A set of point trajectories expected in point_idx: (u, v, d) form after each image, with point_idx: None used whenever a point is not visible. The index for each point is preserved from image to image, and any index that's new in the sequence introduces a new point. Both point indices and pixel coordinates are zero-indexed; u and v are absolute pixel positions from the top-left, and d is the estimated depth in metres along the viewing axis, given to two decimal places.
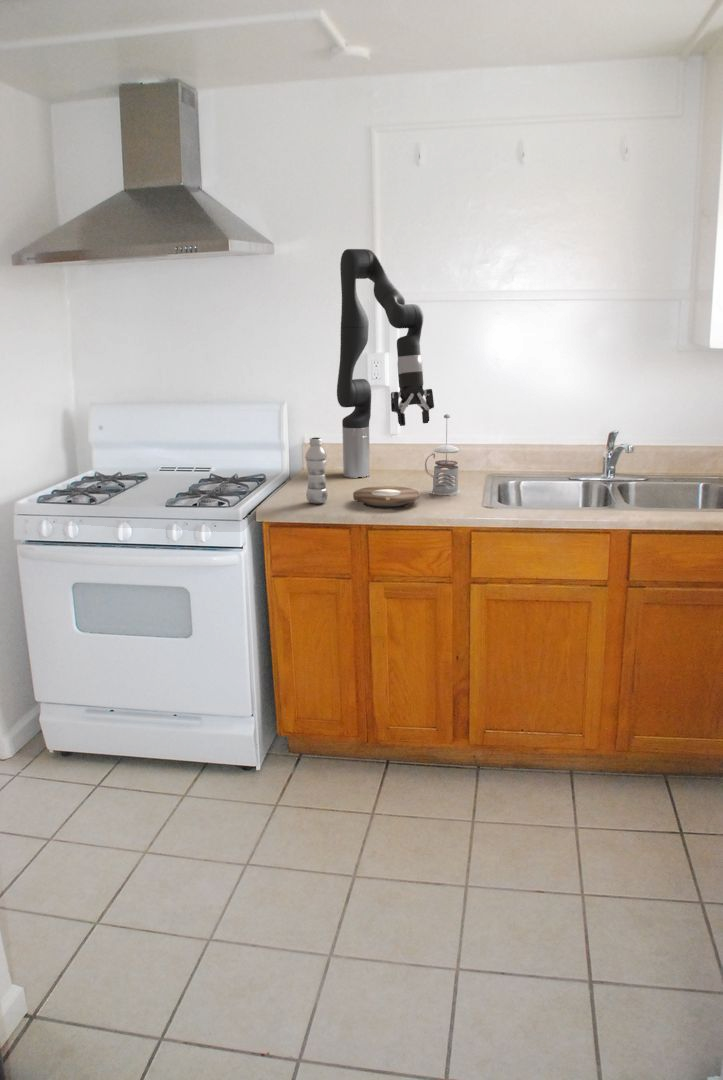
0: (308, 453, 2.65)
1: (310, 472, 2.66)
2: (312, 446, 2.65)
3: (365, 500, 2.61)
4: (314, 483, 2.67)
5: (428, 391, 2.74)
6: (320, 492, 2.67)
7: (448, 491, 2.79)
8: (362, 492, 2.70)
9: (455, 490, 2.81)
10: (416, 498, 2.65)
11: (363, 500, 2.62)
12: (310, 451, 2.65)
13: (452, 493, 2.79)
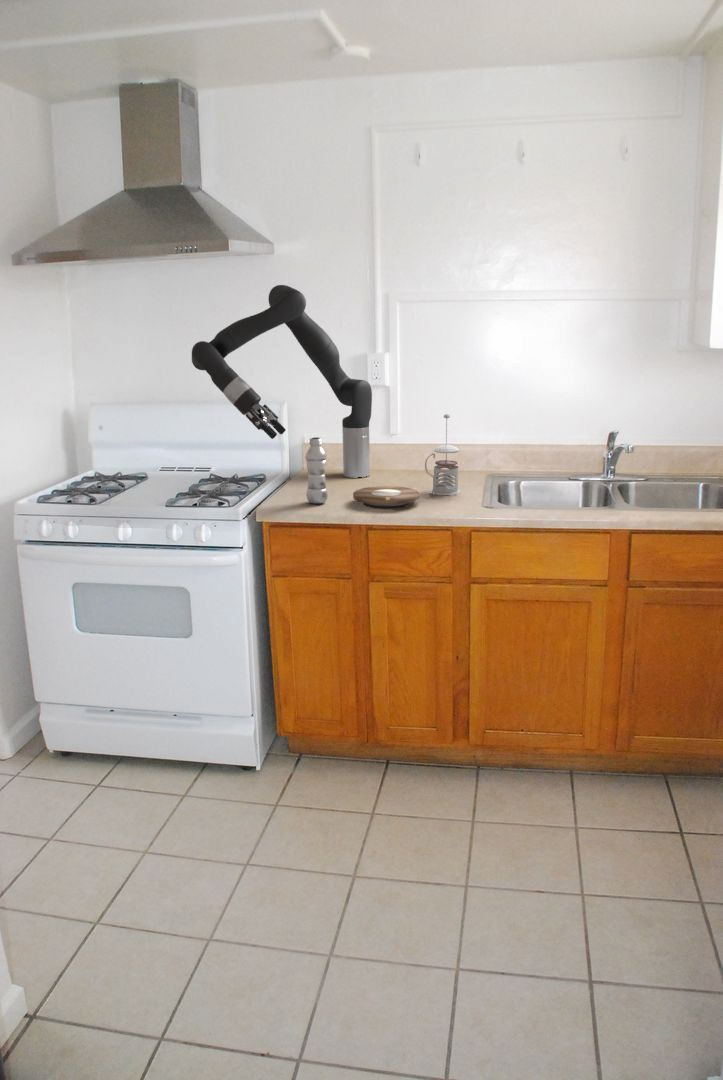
0: (308, 453, 2.65)
1: (310, 472, 2.66)
2: (312, 446, 2.65)
3: (365, 500, 2.61)
4: (314, 483, 2.67)
5: None
6: (320, 492, 2.67)
7: (448, 491, 2.79)
8: (362, 492, 2.70)
9: (455, 490, 2.81)
10: (416, 498, 2.65)
11: (363, 500, 2.62)
12: (310, 451, 2.65)
13: (452, 493, 2.79)
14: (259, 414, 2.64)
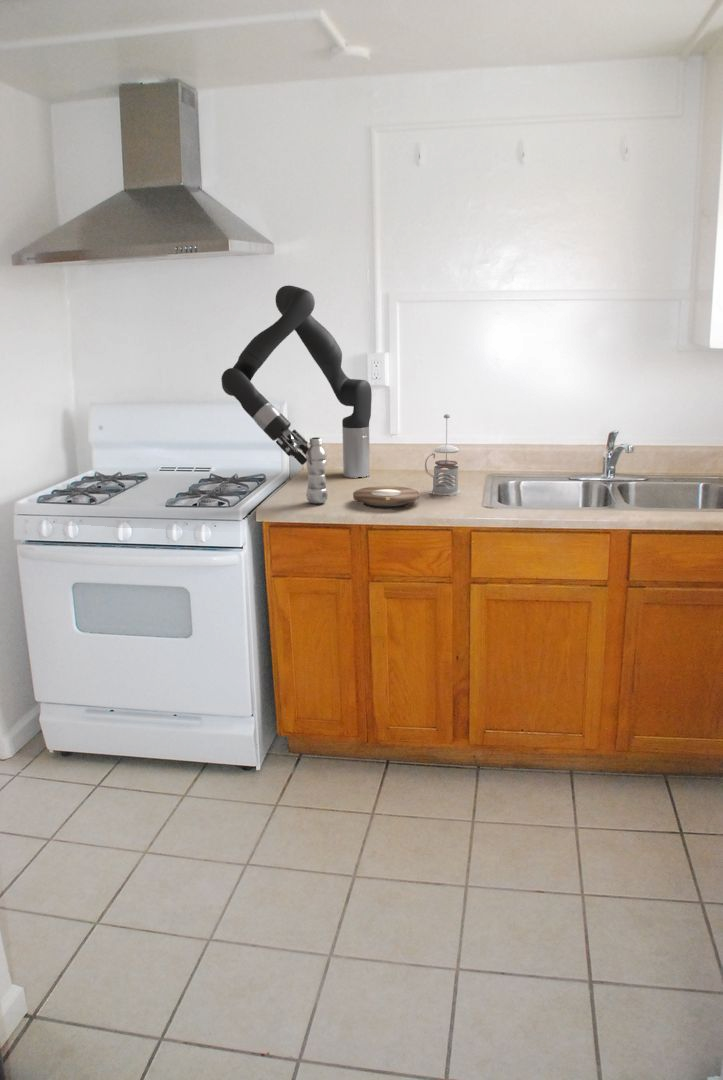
0: (308, 453, 2.65)
1: (310, 472, 2.66)
2: (312, 446, 2.65)
3: (365, 500, 2.61)
4: (314, 483, 2.67)
5: None
6: (320, 492, 2.67)
7: (448, 491, 2.79)
8: (362, 492, 2.70)
9: (455, 490, 2.81)
10: (416, 498, 2.65)
11: (363, 500, 2.62)
12: (310, 451, 2.65)
13: (452, 493, 2.79)
14: (289, 440, 2.64)
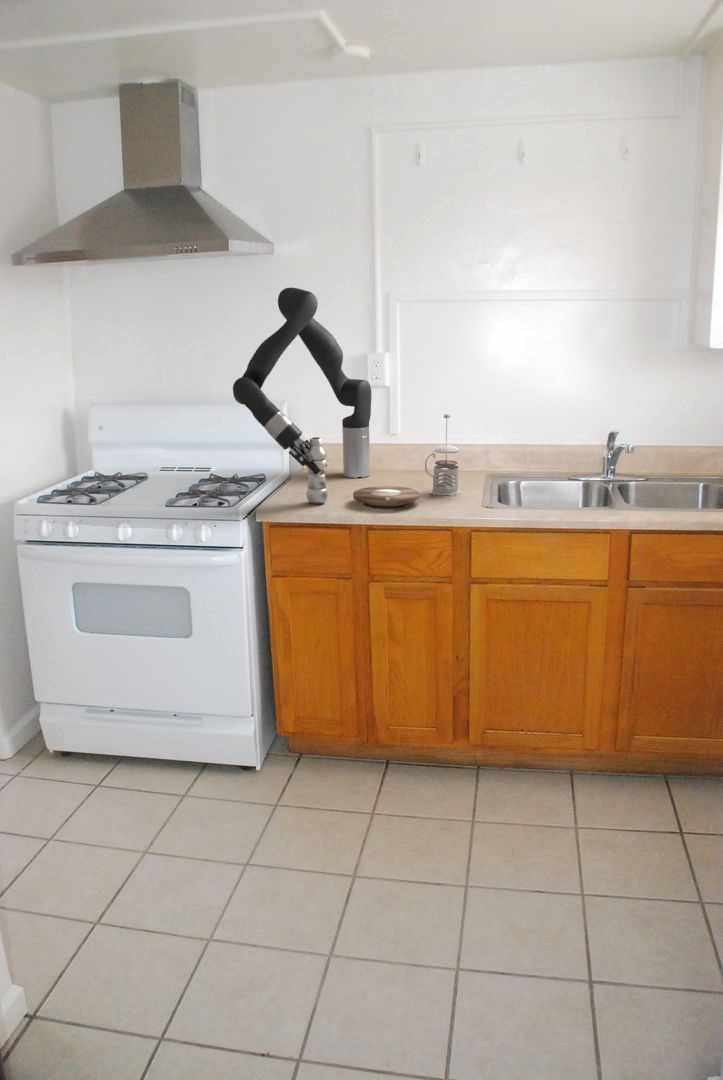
0: None
1: (310, 472, 2.66)
2: (312, 446, 2.65)
3: (365, 500, 2.61)
4: (315, 483, 2.67)
5: None
6: (320, 492, 2.67)
7: (448, 491, 2.79)
8: (362, 492, 2.70)
9: (455, 490, 2.81)
10: (416, 498, 2.65)
11: (363, 500, 2.62)
12: (310, 451, 2.65)
13: (452, 493, 2.79)
14: (301, 450, 2.65)
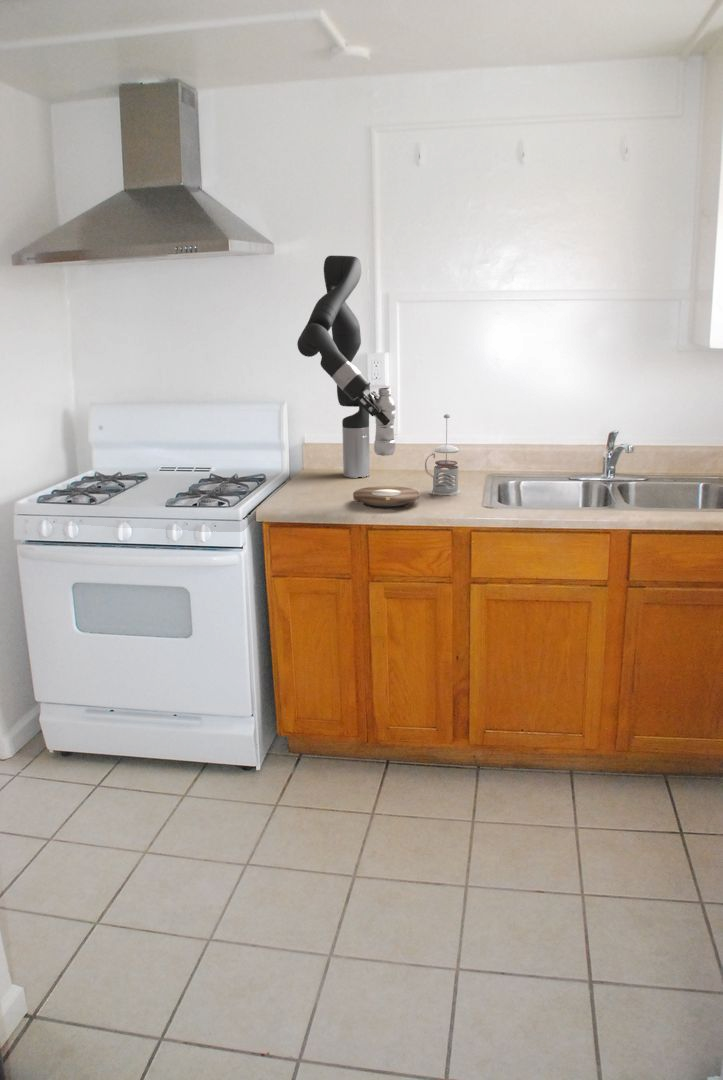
0: None
1: (379, 423, 2.61)
2: (381, 396, 2.59)
3: (365, 500, 2.61)
4: (383, 435, 2.61)
5: None
6: (389, 444, 2.62)
7: (448, 491, 2.79)
8: (362, 492, 2.70)
9: (455, 490, 2.81)
10: (416, 498, 2.65)
11: (363, 500, 2.62)
12: (379, 401, 2.59)
13: (452, 493, 2.79)
14: (370, 400, 2.59)
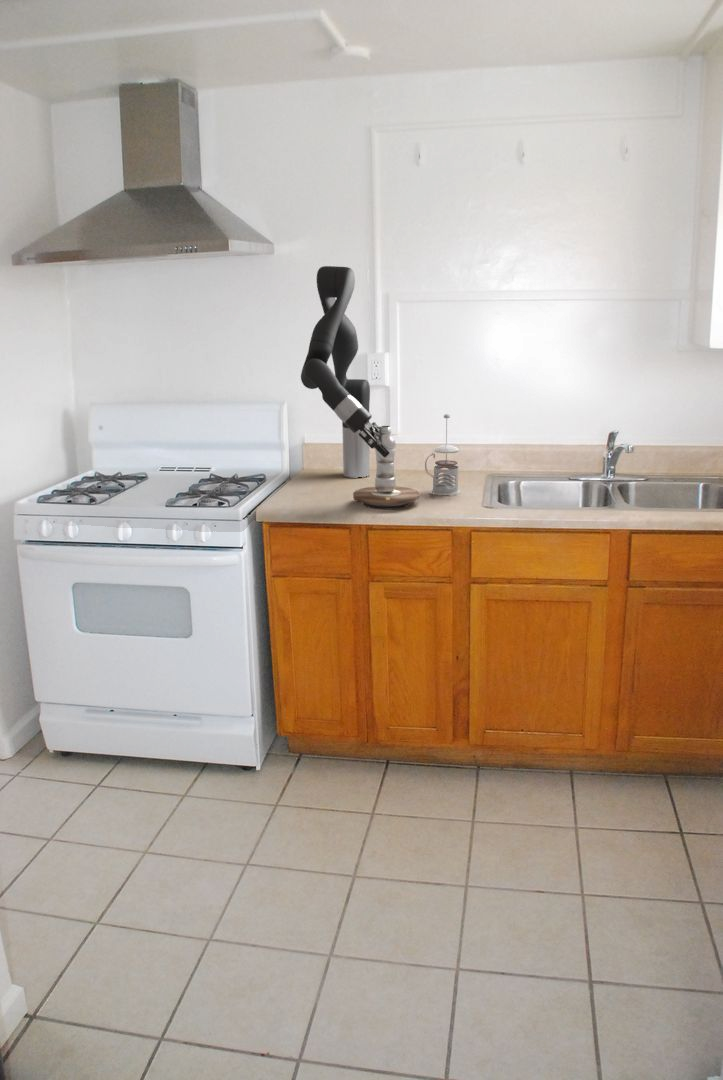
0: None
1: (379, 460, 2.64)
2: (381, 434, 2.63)
3: (365, 500, 2.61)
4: (383, 472, 2.65)
5: None
6: (389, 481, 2.65)
7: (448, 491, 2.79)
8: (362, 492, 2.70)
9: (455, 490, 2.81)
10: (416, 498, 2.65)
11: (363, 500, 2.62)
12: (379, 439, 2.63)
13: (452, 493, 2.79)
14: (371, 432, 2.62)
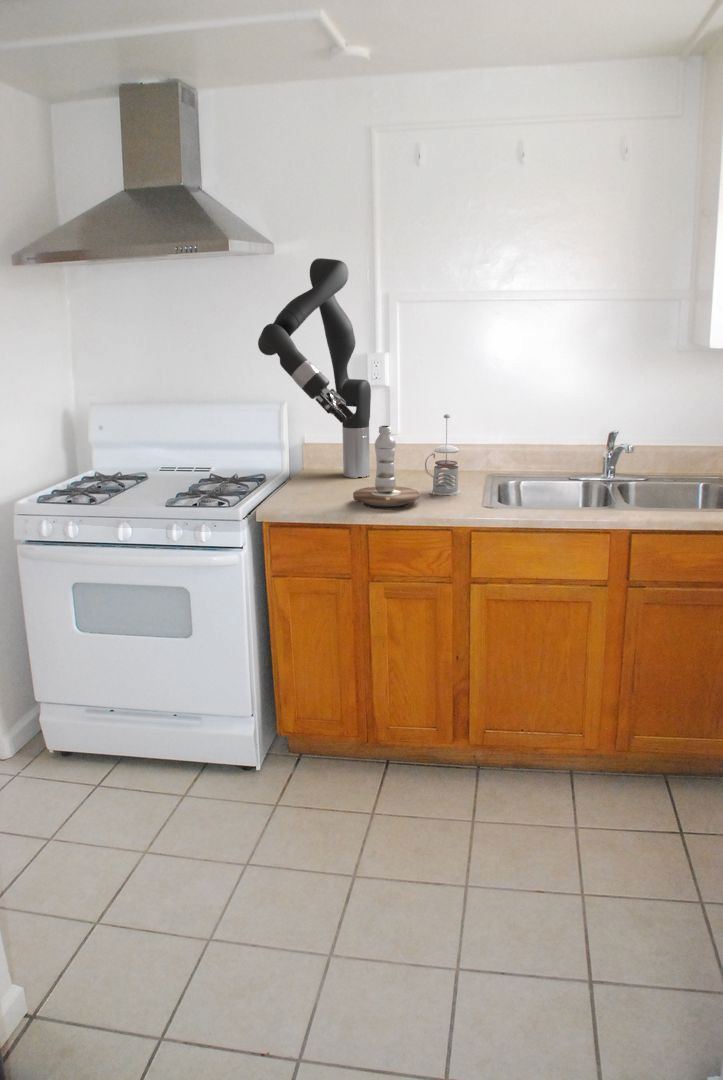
0: (377, 441, 2.63)
1: (379, 460, 2.65)
2: (381, 434, 2.63)
3: (365, 500, 2.61)
4: (383, 472, 2.65)
5: None
6: (389, 480, 2.65)
7: (448, 491, 2.79)
8: (362, 492, 2.70)
9: (455, 490, 2.81)
10: (416, 498, 2.65)
11: (363, 500, 2.62)
12: (379, 439, 2.63)
13: (452, 493, 2.79)
14: (328, 398, 2.62)
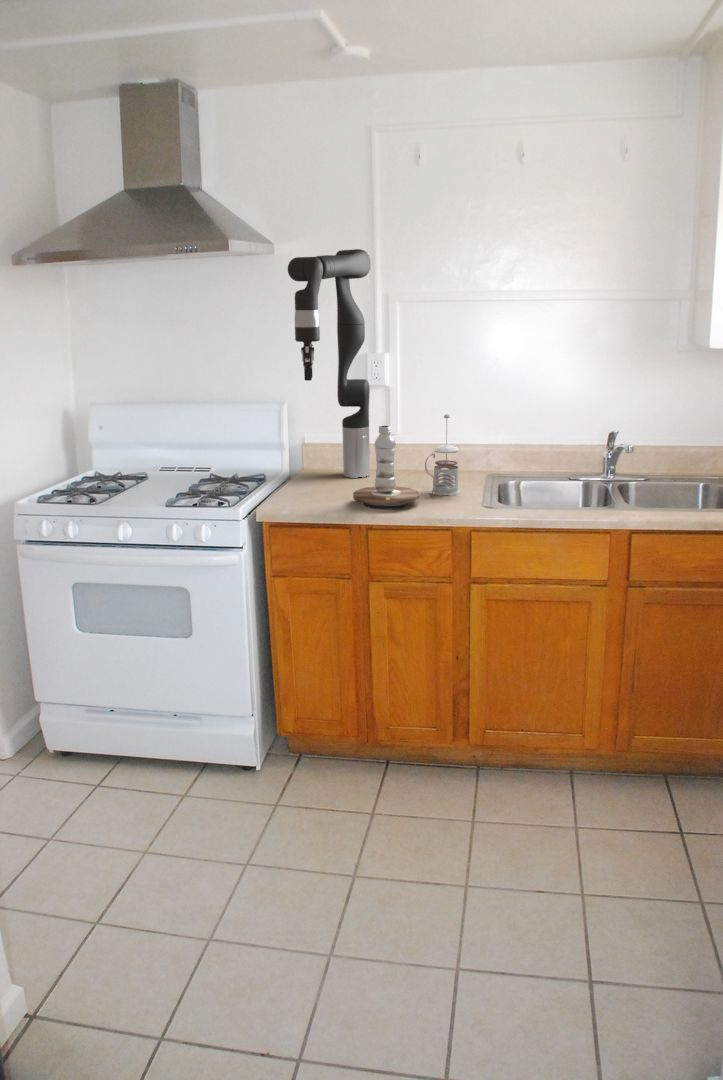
0: (377, 441, 2.63)
1: (379, 460, 2.65)
2: (381, 434, 2.63)
3: (365, 500, 2.61)
4: (383, 472, 2.65)
5: None
6: (389, 480, 2.65)
7: (448, 491, 2.79)
8: (362, 492, 2.70)
9: (455, 490, 2.81)
10: (416, 498, 2.65)
11: (363, 500, 2.62)
12: (379, 439, 2.63)
13: (452, 493, 2.79)
14: None
